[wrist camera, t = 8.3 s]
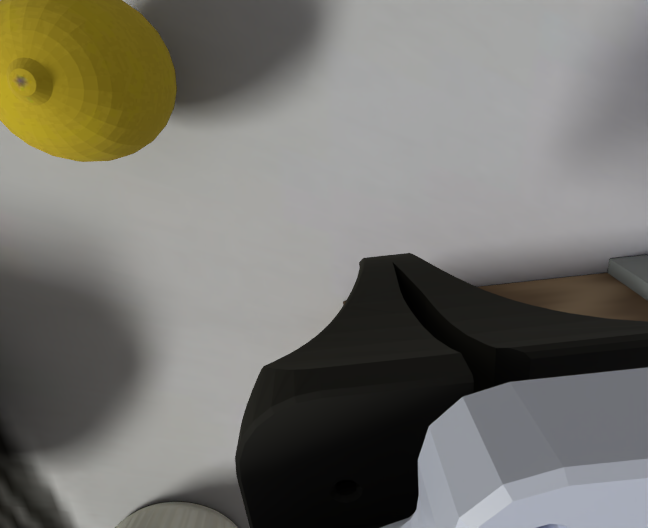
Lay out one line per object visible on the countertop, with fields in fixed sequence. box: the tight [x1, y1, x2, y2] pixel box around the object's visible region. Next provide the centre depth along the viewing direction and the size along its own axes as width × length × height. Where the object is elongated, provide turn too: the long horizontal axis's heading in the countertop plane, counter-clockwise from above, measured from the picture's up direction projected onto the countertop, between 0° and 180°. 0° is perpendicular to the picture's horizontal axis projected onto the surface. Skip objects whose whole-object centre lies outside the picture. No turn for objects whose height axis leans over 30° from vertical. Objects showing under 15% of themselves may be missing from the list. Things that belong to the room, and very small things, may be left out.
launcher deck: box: [343, 273, 648, 321], centre depth 22 cm, size 14×8×6 cm, turn 96°
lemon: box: [0, 0, 177, 162], centre depth 15 cm, size 6×6×8 cm
